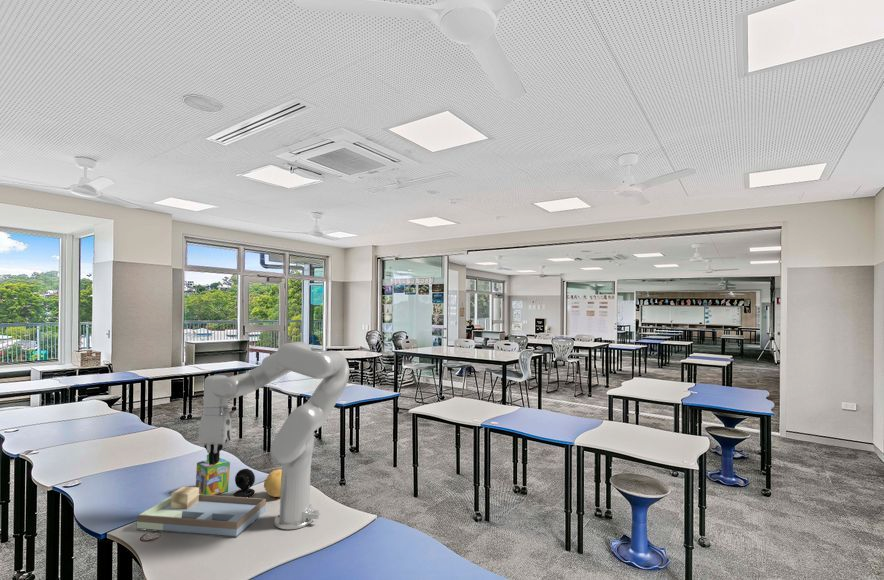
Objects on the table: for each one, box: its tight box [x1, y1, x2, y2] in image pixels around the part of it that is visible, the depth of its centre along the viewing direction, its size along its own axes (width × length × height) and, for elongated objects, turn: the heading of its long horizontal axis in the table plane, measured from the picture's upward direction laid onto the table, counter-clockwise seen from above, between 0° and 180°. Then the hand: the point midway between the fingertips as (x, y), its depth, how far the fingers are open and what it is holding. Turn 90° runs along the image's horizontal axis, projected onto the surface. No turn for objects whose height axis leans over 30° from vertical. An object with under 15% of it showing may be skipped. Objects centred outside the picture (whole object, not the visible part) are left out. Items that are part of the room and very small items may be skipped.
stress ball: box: [263, 468, 282, 498], centre depth 167 cm, size 10×10×10 cm
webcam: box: [233, 468, 256, 498], centre depth 167 cm, size 8×8×10 cm
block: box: [170, 486, 199, 509], centre depth 152 cm, size 6×6×5 cm
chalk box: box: [195, 453, 231, 496], centre depth 170 cm, size 9×9×15 cm
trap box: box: [136, 494, 267, 539], centre depth 146 cm, size 34×18×4 cm, turn 84°
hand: (213, 463), depth 152 cm, fingers closed
